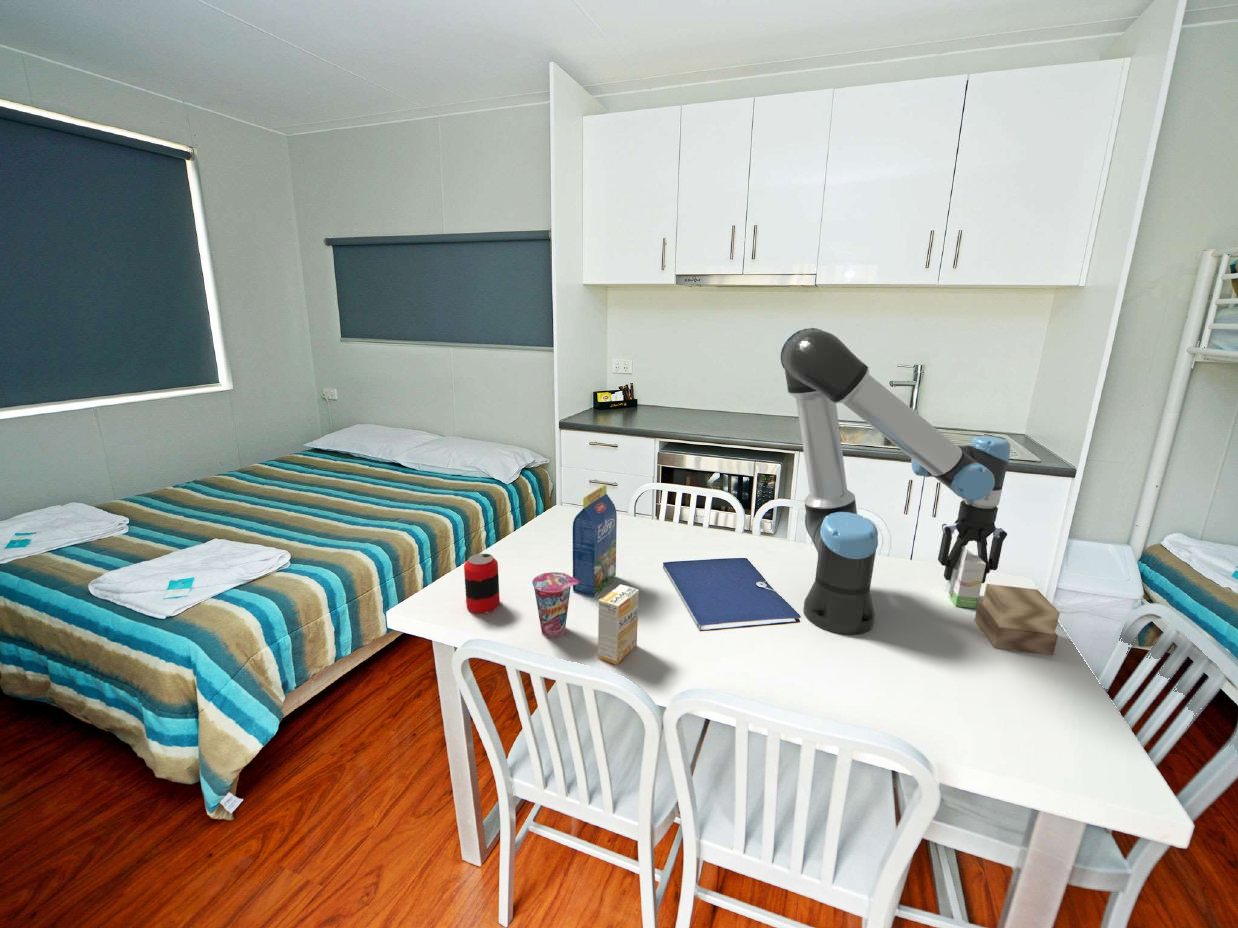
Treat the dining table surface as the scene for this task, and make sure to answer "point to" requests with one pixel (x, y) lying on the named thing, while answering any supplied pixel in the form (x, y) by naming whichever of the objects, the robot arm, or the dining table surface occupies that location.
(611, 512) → the blue food package
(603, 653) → the supplement box
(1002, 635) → the base slab
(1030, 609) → the top slab
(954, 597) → the ink box
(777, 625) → the dining table surface
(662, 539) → the dining table surface
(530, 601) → the dining table surface
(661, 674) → the dining table surface
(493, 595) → the soda can
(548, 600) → the cup
